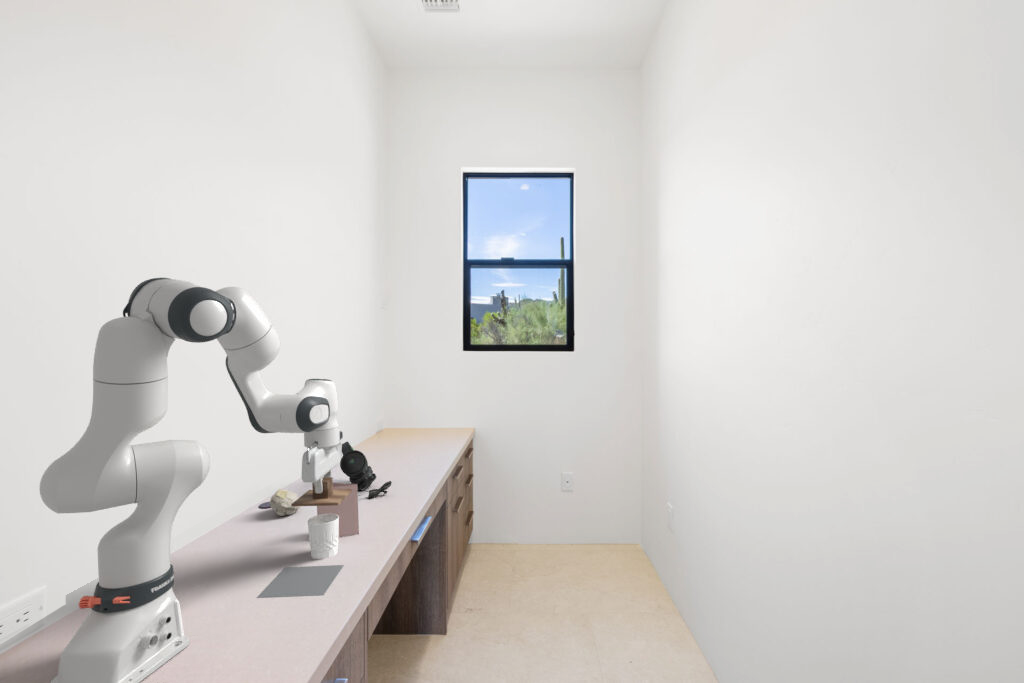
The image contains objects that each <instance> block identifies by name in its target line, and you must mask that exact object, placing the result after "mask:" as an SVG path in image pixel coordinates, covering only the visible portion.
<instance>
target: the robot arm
mask: <svg viewBox="0 0 1024 683" xmlns="http://www.w3.org/2000/svg"><path fill="white" fill-rule="evenodd" d="M127 301H128V302H127V304H126V305H125V307H124V309H122V316H121V317H117V318H114V319H110V320H109V321H107V322H105V323H103V324H102V326H101V327H100V329H99V330H98V334H97V337H96V338H97V339H96V343H95V348H94V354H93V364H92V365H93V367H92V387H93V388H92V404H91V405H92V407H91V415H90V418H89V419H90V420H89V423H88V426H87V427H86V429H85V431H84V432H83V434H82V436H81V437H80V438H79V440H78V441H77V442H76V443H75V444H74V445H73V447H72V448H70V449H69V450H68V451H67V452H65V453H64V454H63V455H61V456H60V457H58V458H57V459H55V460H54V461H52V463H50V465H48V467H47V468H46V470H45V471H44V473H43V474H42V476H41V479H40V481H39V495H40V498H41V500H42V503H43V504H44V505H45V506H46V507H47V508H48V509H49V510H51V511H53V513H56V514H58V515H59V514H79V513H82V514H83V513H91V512H97V511H102V510H108V509H111V508H113V509H114V508H117V507H122V506H127V505H133V504H137V505H136V507H135V510H134V511H133V512H132V513H131V514H130V515H129V516H128V517H127V518H125V519H123V521H121V522H119V523H118V524H116V525H115V526H112V528H110V529H109V530H108V531H107V532H106V533H104V535H103V536H102V537H101V538H100V540H99V543H98V546H97V566H98V569H97V570H98V572H97V573H98V581H97V583H96V585H95V588H94V591H93V595H92V596H90V595H84V596H82V597H81V598H80V599H79V601H78V608H79V609H87V608H89V609H91V610H90V611H89V614H88V615H87V616H86V617H85V619H84V620H83V622H82V624H81V625H80V626H79V627H78V629H77V631H76V632H75V633H74V635H73V637H72V638H71V639H70V641H69V642H68V644H67V645H66V647H65V648H64V650H63V651H62V652H61V654H60V657H59V662H58V669H57V670H58V671H57V675H56V676H55V677H54V678H53V679H52V680H51V681H50V682H49V683H141V682H142V681H144V679H146V678H147V677H148V676H150V675H152V673H154V672H155V671H157V670H158V669H159V668H160V667H161V666H163V665H164V664H165V663H167V662H168V661H170V660H171V659H172V658H174V657H175V656H176V655H177V654H179V653H180V652H182V651H183V650H184V649H185V648H187V647H188V646H189V645H190V643H191V642H190V637H189V636H188V635H186V634H185V632H184V625H183V624H184V623H183V618H182V610H181V606H180V601H179V600H178V598H177V597H176V593H175V592H174V590H173V586H174V584H175V571H174V566H173V564H172V563H171V539H172V530H173V523H174V521H175V518H176V516H177V514H178V512H179V510H180V508H181V507H182V505H183V504H184V502H185V501H186V499H188V497H189V496H190V495H191V494H192V493H193V492H194V491H195V490H196V489H198V488H199V487H200V486H201V485H202V484H203V483H204V481H205V480H206V478H207V477H208V475H209V472H210V469H211V468H210V467H211V460H210V455H209V453H208V451H207V449H206V448H205V447H204V446H203V445H202V444H201V442H198V440H188V439H187V440H185V439H167V440H161V441H159V440H158V441H153V442H147V443H139V444H131V442H132V441H133V440H134V439H135V437H137V436H139V434H142V433H143V432H145V431H148V429H151V428H152V427H154V426H155V425H157V424H158V423H159V422H160V421H161V420H162V419H163V418H164V417H165V415H166V414H167V411H168V384H169V383H168V382H169V381H168V376H169V375H168V355H169V352H170V349H171V347H172V346H173V343H174V342H175V341H176V339H178V340H183V341H185V342H189V343H194V344H195V343H196V344H197V343H198V344H199V343H201V344H202V343H206V342H207V343H208V342H212V341H214V340H216V339H217V342H218V343H219V344H220V346H221V347H222V349H223V350H224V352H225V354H226V357H225V366H226V367H225V368H226V370H227V373H228V376H229V377H230V380H231V382H232V383H233V385H234V387H235V389H236V391H237V393H238V395H239V397H240V398H241V400H242V402H243V404H244V406H245V410H246V412H247V416H248V420H249V423H250V425H251V426H252V428H253V429H254V430H255V431H256V432H258V433H260V434H273V433H275V434H276V433H285V434H287V433H288V434H294V433H295V434H303V447H305V448H306V449H307V450H305V451H304V453H303V454H302V459H301V480H302V483H312V482H313V484H314V486H315V493H322V492H323V491H324V485H322V480H323V477H332V476H333V469H334V468H335V467H337V466H338V465H340V461H341V458H342V457H343V453H342V444H343V442H342V440H343V438H344V431H343V430H341V429H340V428H339V426H340V424H339V421H338V413H339V401H338V399H339V398H338V391H337V386H336V383H335V381H332V380H331V379H327V378H309V379H306V380H305V381H304V386H303V387H302V388H301V389H300V390H299V391H298V392H296V393H295V394H280V393H274V392H271V391H270V390H268V389H267V387H266V385H265V383H264V380H263V379H262V377H261V375H260V371H262V370H263V369H264V368H266V367H268V366H269V365H270V364H271V363H272V362H273V361H274V360H275V359H276V358H277V356H278V354H279V353H280V352H279V351H280V349H281V340H280V336H279V334H278V332H277V330H276V328H275V327H274V325H273V324H272V322H271V320H270V318H269V317H268V316H267V314H266V313H265V311H264V310H263V309H262V307H261V306H260V304H259V303H258V302H257V301H256V300H255V299H254V298H253V296H252V295H250V294H249V293H248V292H247V290H245V289H244V288H240V287H238V286H227V287H222V288H220V289H217V290H213V289H211V288H207V287H203V286H200V285H197V284H194V283H192V282H190V281H186V280H182V279H172V278H168V277H154V278H149V279H147V280H144V281H142V282H140V283H139V284H137V286H135V288H134V289H133V290H132V291H131V293H130V295H129V298H128V300H127ZM126 314H127V316H126Z"/></svg>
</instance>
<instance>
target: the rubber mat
mask: <svg viewBox="0 0 1024 683" xmlns="http://www.w3.org/2000/svg"><path fill="white" fill-rule="evenodd" d="M343 567H344V564H340V565H339V564H337V565H335V564H334V565H333V564H332V565H309V566H284V568H283V569H281V571H280V572H278V574H277V575H276V576H275V577H274V578H273V579H272V580H271V581H270V583H269V584H267V586H266V587H265V588H264V589H263V590H262V591H261V592H260V594H259V595H257V596H256V599H263V598H264V599H265V598H266V599H267V598H291V597H292V598H293V597H313V596H314V597H315V596H316V597H317V596H324V595H325V594H326V592H327V591H328V589H329V588H330V587H331V585H332V584H333V582H334V581H335V579H336V577H337V576H338V575H339V573H340V572H341V570H342V569H343Z"/></svg>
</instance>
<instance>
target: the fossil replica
mask: <svg viewBox="0 0 1024 683" xmlns="http://www.w3.org/2000/svg"><path fill="white" fill-rule="evenodd" d="M300 497H301V496H298V494H297V493H296V492H294V491H291V490H286V489H282V488H281V489H280V488H279V489H278V490H277V491H276V492H275V493H274V494H273V495H272V496H271V498H270V500H269V505H270V509H271V510H273V511H275V514H276V515H277V516H279V517H285V516H286V515H287V516H292V515H293V514H294V513H296V512H297V511H299V509H301V506H291V504H292V503H293V502H295V501H296V500H297V499H298V498H300Z"/></svg>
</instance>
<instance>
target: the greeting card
mask: <svg viewBox="0 0 1024 683" xmlns="http://www.w3.org/2000/svg"><path fill="white" fill-rule="evenodd" d="M333 489H352V491H351V493H350V494H349V495H348V496H347V497H346V498H345V499H344V500H343V501H342V502H341V503H340V504H339V505H334V506H316V516H317V515H321V514H336V515H338V516H339V538H342V537H341V536H344V537H349V536H348V535H351V536H355V534H358V535H360V527H359V524H360V523H359V519H360V518H359V497H358V496H359V494H358V493H359V492H358V491H359V490H358V489H357V484H351V483H342V482H333Z"/></svg>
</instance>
